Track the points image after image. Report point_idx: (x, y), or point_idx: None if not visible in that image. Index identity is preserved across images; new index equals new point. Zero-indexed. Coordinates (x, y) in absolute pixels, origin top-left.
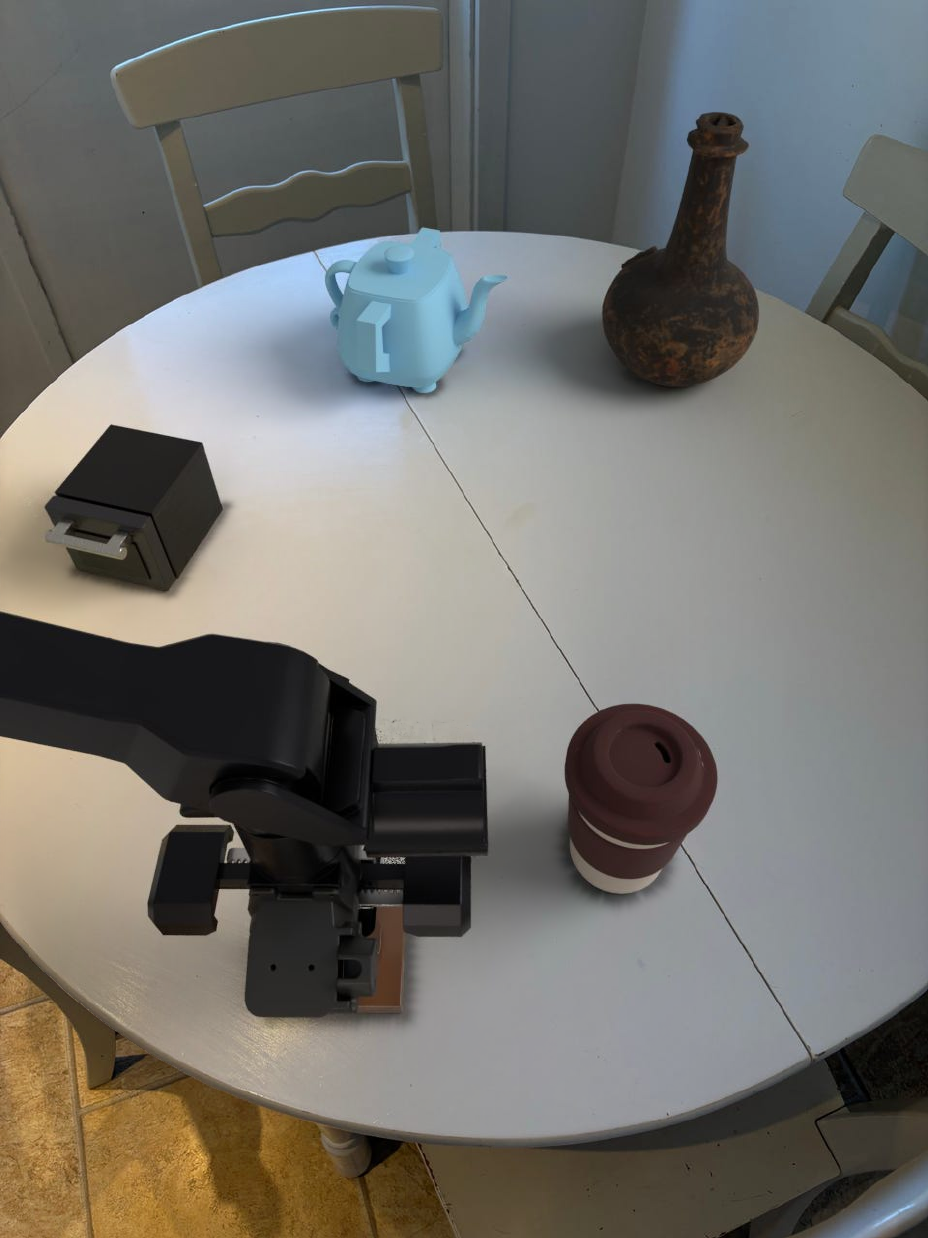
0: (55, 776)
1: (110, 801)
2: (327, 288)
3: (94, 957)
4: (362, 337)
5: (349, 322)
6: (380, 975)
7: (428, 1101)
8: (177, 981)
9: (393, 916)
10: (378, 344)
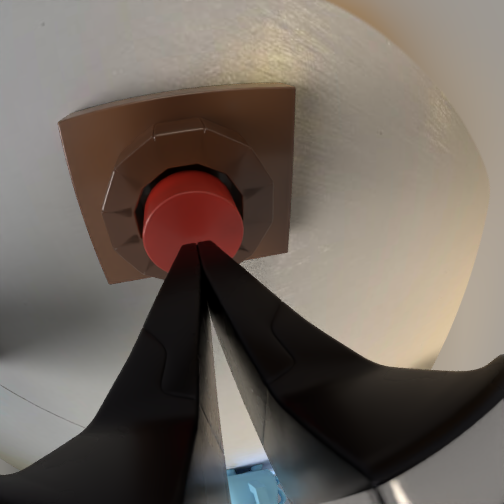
0: (451, 285)
1: (428, 280)
2: (284, 494)
3: (458, 156)
4: (266, 501)
5: (272, 496)
6: (103, 163)
7: (19, 16)
8: (399, 127)
9: (113, 253)
10: (257, 500)
